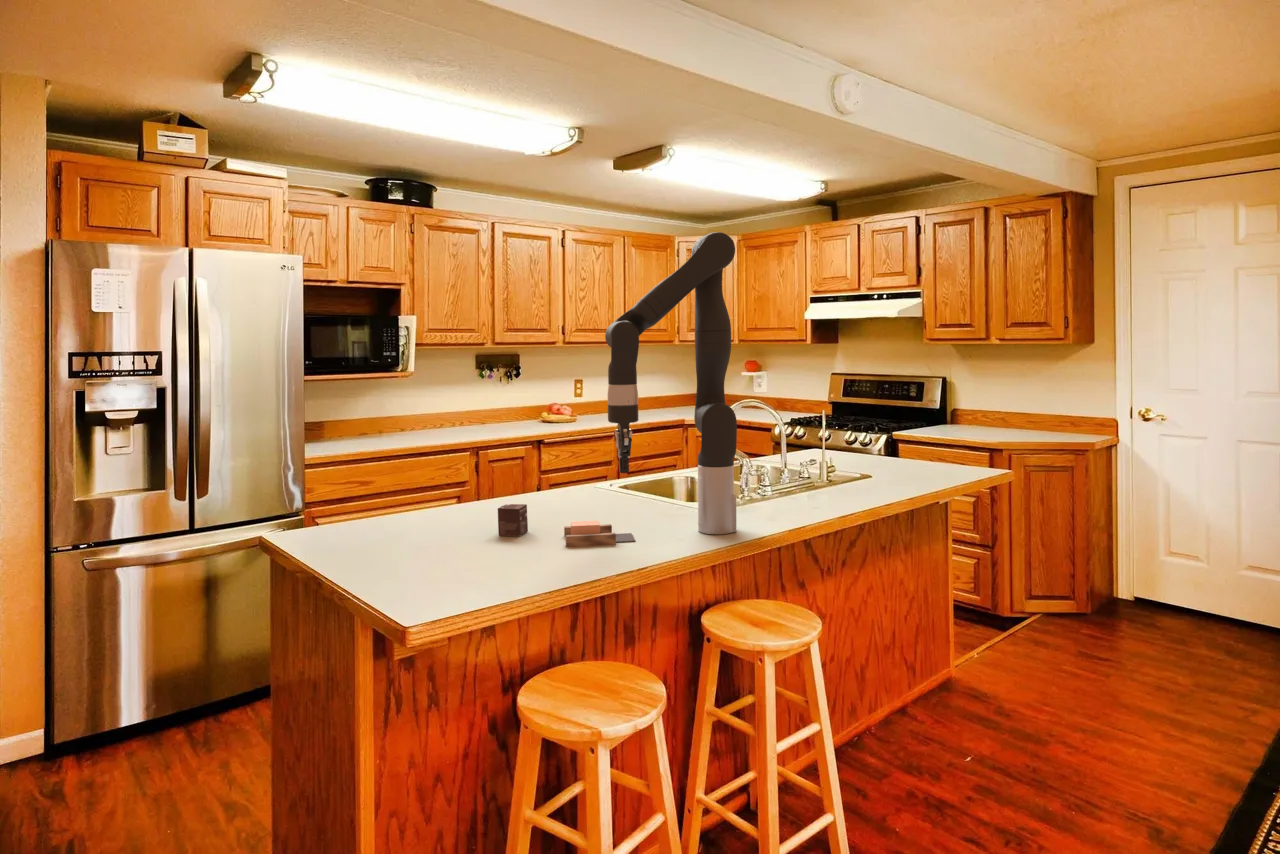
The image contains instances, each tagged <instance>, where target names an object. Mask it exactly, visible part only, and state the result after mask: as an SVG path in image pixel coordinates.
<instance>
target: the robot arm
mask: <svg viewBox="0 0 1280 854" xmlns="http://www.w3.org/2000/svg"><path fill="white" fill-rule="evenodd" d="M735 253H736V245H735V242H734V240H733V239H732V237H731V236H730V235H728V234H726V233H724V232H721V231H715V232H714V231H713V232H710V233H708V234H706V235H703V236H701V237H699V238H698V239H697V240H696V241H695V242H694V244H693V245H692V248H691V254H690V258H688V259H687V261H686V262H685V263H683V264H682V265H681V266H680V267H678V269H676V270H675V271H674V272H672V273H671V274H670V275H668V276H666V278H664V279H663V280H662V281H661V282H659V283H658V284H657V285H655V286H654V287H653V288H651V289H650V290H649V291H648V292H647V293H645V295H643V296H642V297H641V298H640V299H639V300H638V301H637V302H636V303H635V304H634V305H633V306H632V307H631V308H630V309H629V310H627V311H626V312H624V313H623V314H622V315H620V316H619V317H618V318H617V319H615V320H614V321H613V322H612V323H611V324H609V326H608V327H607V329H606V331H605V334H604V335H605V336H604V339H605V342H606V343H607V345H608V347H610V362H609V364H608V368H607V369H608V370H607V373H608V374H607V384H608V385H607V420H608V421H607V422H608V423H611V424H617V425H616V427H617V429H614V436H615V446H616V448H617V449H616V450H617V451H616V452H617V457H618V460H619V461H618V462H619V463H618V465H619V467H618V468H619V472H620V473H621V474H628V473H629V472H630V457H631V452H632V451H631V450H632V442H633V439H632V438H633V430H632V429H631V428H630V424H631V423H633V424H634V423H638V422H639V391H638V379H637V378H638V376H637V375H638V373H637V371H638V370H637V363H638V357H639V348H640V335H642V334H643V333H644V332H645V331H646V330H648V329H650V328H653V327H654V326H656V324H658V322H660V321H661V320H662V319H663V318H664V317H665V316H667V315H668V314H669V313H670V312H671V311H672V310H673V309H674V308H675V307H677V305H678V304H679V303H680V302H681V301H682V300H683V299H684V298H685V297H687V295H689V294H690V293H691V292H692V291H694V349H695V350H694V352H695V353H694V354H695V373H696V392H695V394H696V395H695V407H694V419H693V420H694V424H695V427H696V429H697V431H698V432H699V434H701V435H700V438H701V442H700V444H701V445H700V451H699V453H698V454H697V496H698V497H697V505H698V506H697V510H698V511H697V512H698V513H697V514H698V515H697V516H698V517H697V518H698V522H697V524H698V525H697V526H698V532H700V533H702V534H706V535H707V534H708V535H727V534H731V533H738V532H737V531H738V530H737V495H736V494H735V458H736V457H735V456H736V454H737V443H738V441H737V439H738V438H737V437H738V425H737V423H738V422H737V416H736V413H735V411H734V410H733V408H732V407H731V406H729V404H726V397H725V380H726V374H727V369H728V367H729V363H730V358H731V352H732V351H731V350H732V325H731V319H730V315H729V314H730V313H729V311H728V309H727V305H726V302H725V298H724V294H723V272H724V271H723V270H724V269H725V268H727V267H728V266H729V265H730V264H731V263H732V261H733V260H734V258H735V255H736V254H735Z"/></svg>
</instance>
